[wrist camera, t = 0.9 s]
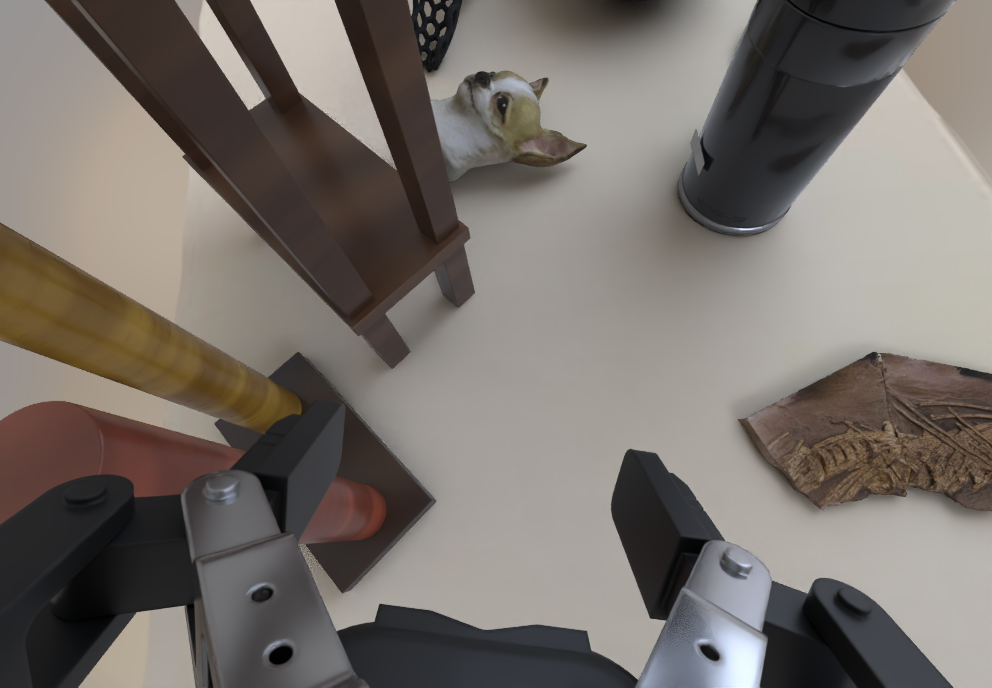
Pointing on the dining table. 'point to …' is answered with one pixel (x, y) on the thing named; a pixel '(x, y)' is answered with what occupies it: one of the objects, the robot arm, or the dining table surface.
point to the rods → (186, 381)
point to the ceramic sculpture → (497, 125)
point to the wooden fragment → (884, 432)
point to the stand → (302, 149)
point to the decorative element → (441, 41)
